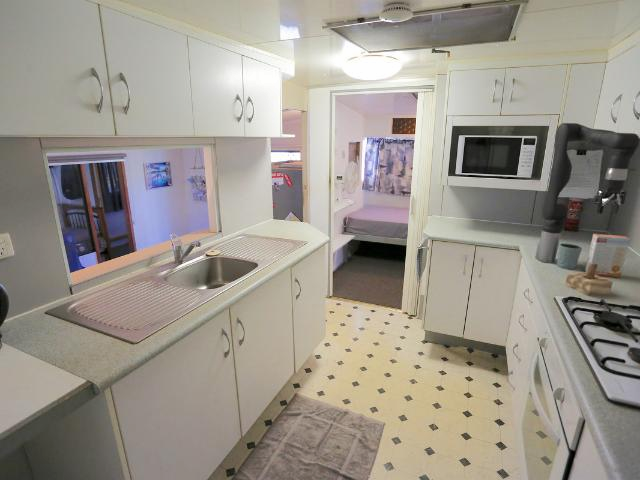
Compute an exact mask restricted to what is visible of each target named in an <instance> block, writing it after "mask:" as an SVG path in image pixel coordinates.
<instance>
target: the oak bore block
mask: <svg viewBox="0 0 640 480" xmlns="http://www.w3.org/2000/svg"><path fill="white" fill-rule="evenodd" d="M586 273H587V272H586V271H584V272H571V273H567V276H566V278H565V279H566V280H565V284H564V285H565V287H568V288H570V289H573V290H575V291H576V292H579V293H581V294H583V295H585V296H588V297H589V296H591V297H592V296H599V295H610V294H611V290H612V286H613V283H614V281H613V280H610V279H607V278H604V277H602V276H599V275H595V277H594V279H592V280H590V279H587V278H585V277H586Z"/></svg>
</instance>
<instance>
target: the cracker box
mask: <svg viewBox="0 0 640 480" xmlns="http://www.w3.org/2000/svg"><path fill="white" fill-rule="evenodd" d="M630 240H631V238H629V237H627V236H626V235H617V234H616V235H614V234H602V233H601V234H600V233H599V234H598V233H593V234H592V238H591V242H590V247H589V251H588V252H589V253H588V256H587V260H586V265H585V269H584V270H585V271H584V272H587V269H588V265H589V263H595V264H597V269H596V273H595V275H597V276H600V277H602V276H603V277H610V278H620V279H621V275H622V273H623V268H624V265H625V261H626V257H627V252H628V250H629V245H630Z"/></svg>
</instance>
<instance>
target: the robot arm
mask: <svg viewBox="0 0 640 480" xmlns="http://www.w3.org/2000/svg"><path fill="white" fill-rule="evenodd" d="M554 136H555V137H554V147H553V148H554V152H553V157H552V164H551V169H550V176H549V182H548V186H547V192H546V196H545V198H544V202H543V205H542V211H541V213H542V214H541V215H542V218H544V219H545V220H548V221H549V222H548V223H545V224H544V225H542V228H541V235H540V239H539V242H538V243H537V246H536V251H535V257H534V258H535V259H536V260H537V261H539V262H542V263H548V264H549V263H550V264H554V263H556V259H557V256H558V251H559V245H560V240H561V235H562V230H564V228H565V225H566V221H567V218H568V214H569V213H568V211H569V210H568V206H567V205H566V204H565V203H562V202H558V199H559V196H560V194H561V192H562V191H563V189H565V187H566V186H567V184H569V181H570V179H571V174H572V171H573V170H572V169H573V165H572V162H571V158H570V157H569V154H568V145H569V144H568V142H570V143H571V142H579V141H580V142H583V141H584V142H585V141H586V142H589V143H590V144H592V145H597V146H602V147H607V148H609V149H613V150H619V152H618V153H617V154H614V155H612V156H611V157H610V159H609V163H608V167H607V170H606V173H605V177H604V182H603V186H602V188H603V189H604V190H603V191H602V190H597V193H596V196H595V199H594V204H595V205H597V208H596V213H597V214H600V215H602V214H603V213H604V210H605V209H604V208H605V205H606V204H607V203H608V202H613V203H612V210H611V213H613V214H618V213H619V208H620V206H621V205H624V204H625V201H626V196H627V191H626V190H624V189H625V185H626V180H627V177H628V172H629V171H628V169H629V165H630V161H631V159H632V157H633V156H634V155H635V153H636V151H637V149H638V146H639V145H640V137H639V134H636V133H634V132H633V133H631V132H616V131H613V130H607V129H599V128H598V129H597V128H591V127H587V126H585V125H582V124H580V123H574V122H573V123H571V122H567V123H566V122H563V123H560V124H559V126H557V128H556V131H555V135H554Z"/></svg>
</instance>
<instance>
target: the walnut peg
mask: <svg viewBox="0 0 640 480" xmlns="http://www.w3.org/2000/svg"><path fill="white" fill-rule="evenodd" d="M596 269H597V264H595V263H589V265H588V269H587V273H586V277H585V278H587V279H590V280H592V279H594V277H595V273H596Z"/></svg>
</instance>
